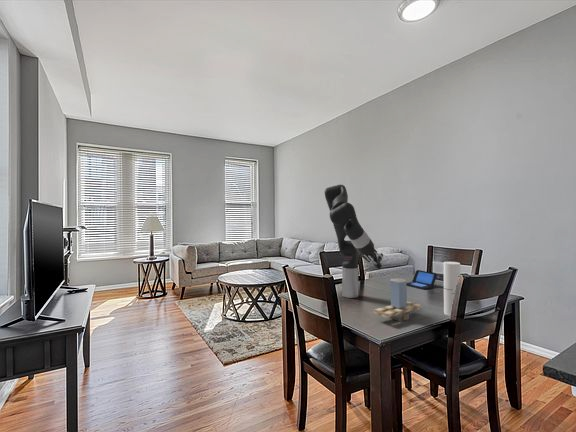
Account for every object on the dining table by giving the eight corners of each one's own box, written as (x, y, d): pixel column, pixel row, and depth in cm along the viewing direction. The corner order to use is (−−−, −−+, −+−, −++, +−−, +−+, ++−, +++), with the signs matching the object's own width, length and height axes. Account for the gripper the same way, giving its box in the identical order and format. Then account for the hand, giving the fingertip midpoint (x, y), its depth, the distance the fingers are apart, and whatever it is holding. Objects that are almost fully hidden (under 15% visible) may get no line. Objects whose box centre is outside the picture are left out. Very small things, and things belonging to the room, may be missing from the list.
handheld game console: (404, 285, 205) (404, 272, 205) (416, 282, 212) (416, 269, 212) (425, 290, 192) (425, 276, 192) (437, 287, 199) (437, 273, 199)
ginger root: (386, 325, 134) (386, 314, 134) (373, 320, 141) (372, 309, 141) (421, 315, 146) (421, 305, 146) (407, 310, 153) (407, 300, 153)
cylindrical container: (445, 310, 153) (445, 261, 152) (461, 313, 148) (461, 262, 148) (442, 314, 147) (441, 263, 147) (459, 317, 143) (458, 264, 142)
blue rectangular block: (399, 312, 141) (399, 281, 141) (390, 309, 145) (390, 279, 145) (407, 310, 143) (406, 280, 143) (398, 307, 148) (397, 277, 148)
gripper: (346, 246, 136) (364, 271, 143) (368, 249, 125) (387, 276, 131) (354, 234, 139) (372, 259, 145) (377, 236, 128) (395, 263, 134)
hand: (379, 267), depth 138 cm, fingers closed
